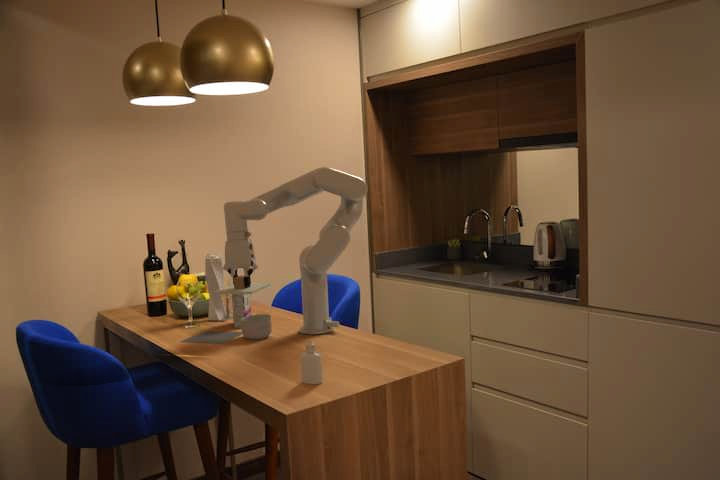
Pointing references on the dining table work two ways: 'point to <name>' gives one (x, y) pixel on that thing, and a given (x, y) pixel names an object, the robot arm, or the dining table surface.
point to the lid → (241, 287)
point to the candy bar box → (240, 308)
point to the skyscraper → (216, 288)
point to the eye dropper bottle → (311, 365)
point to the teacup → (256, 326)
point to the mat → (213, 337)
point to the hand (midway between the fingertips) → (242, 286)
